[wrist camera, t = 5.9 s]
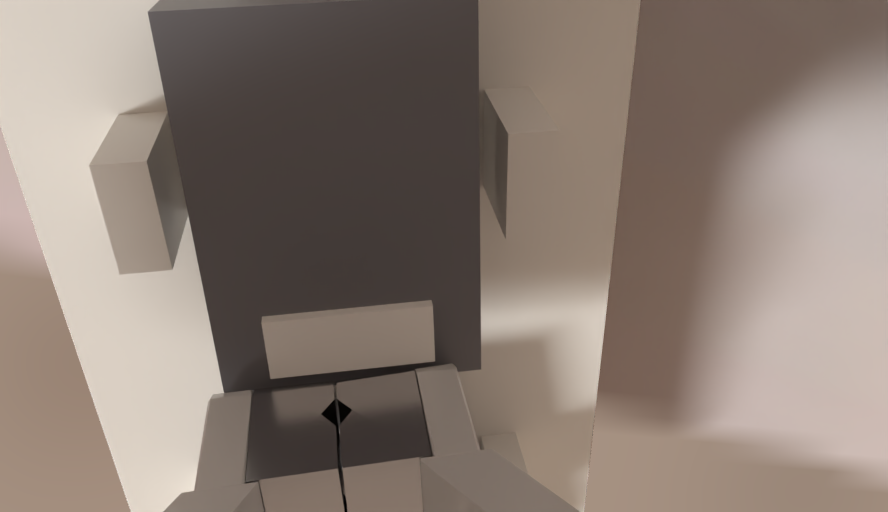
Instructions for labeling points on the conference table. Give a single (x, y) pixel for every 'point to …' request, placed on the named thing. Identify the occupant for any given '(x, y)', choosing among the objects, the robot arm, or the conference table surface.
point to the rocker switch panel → (174, 257)
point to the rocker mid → (329, 181)
